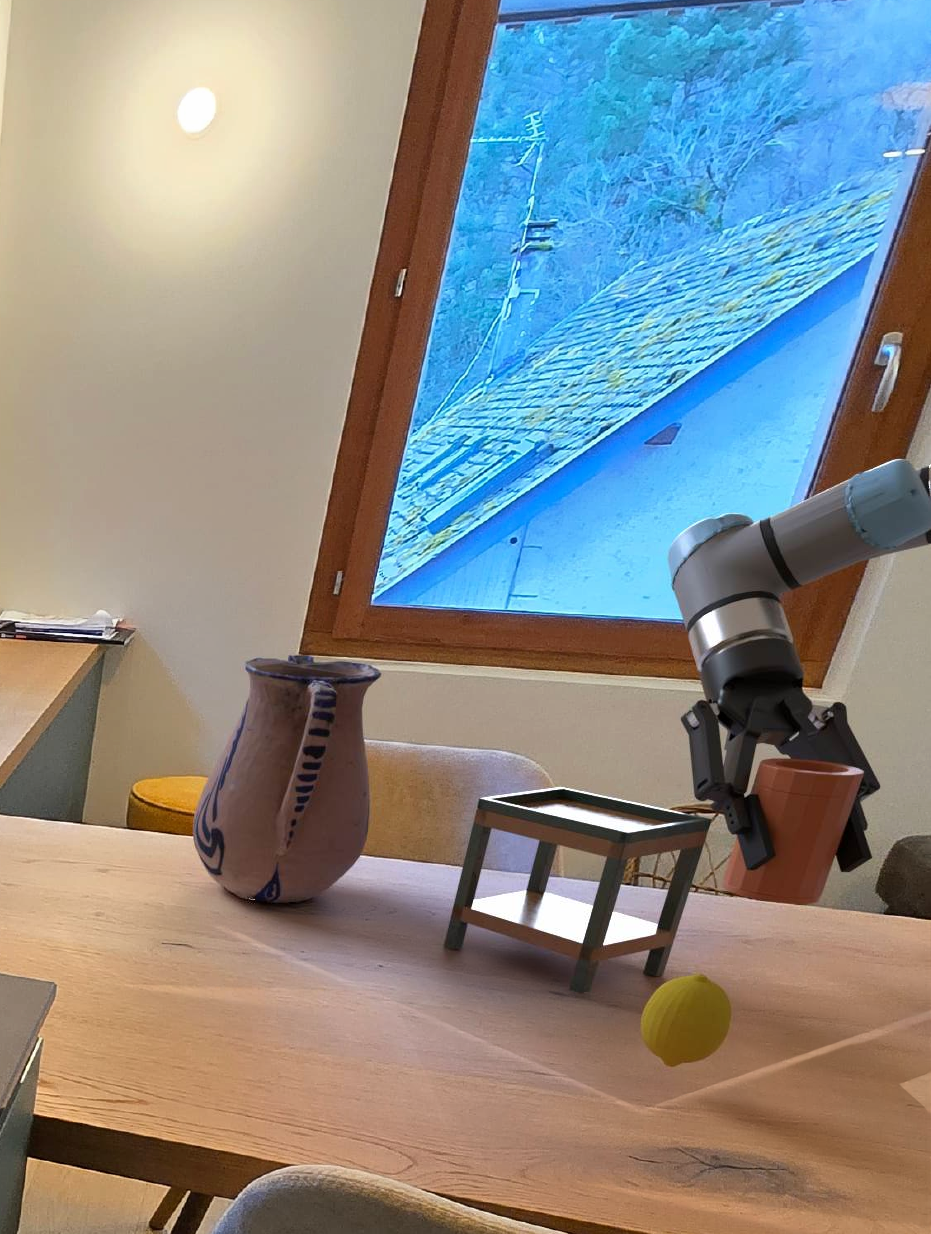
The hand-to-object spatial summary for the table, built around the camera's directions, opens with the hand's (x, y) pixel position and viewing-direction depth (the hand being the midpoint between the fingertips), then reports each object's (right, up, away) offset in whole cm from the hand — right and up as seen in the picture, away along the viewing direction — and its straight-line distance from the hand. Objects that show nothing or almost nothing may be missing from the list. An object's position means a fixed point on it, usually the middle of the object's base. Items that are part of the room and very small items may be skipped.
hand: (808, 863), depth 120 cm
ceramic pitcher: (-38, -1, +26) cm, 46 cm away
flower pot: (0, -2, +5) cm, 5 cm away
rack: (-19, -9, +8) cm, 22 cm away
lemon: (-24, -18, -15) cm, 34 cm away
